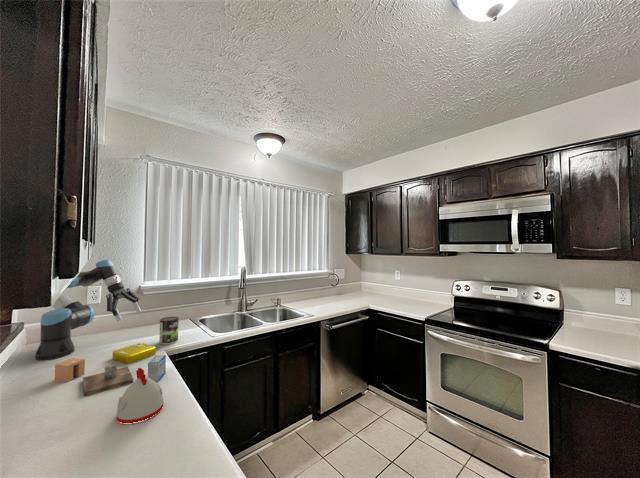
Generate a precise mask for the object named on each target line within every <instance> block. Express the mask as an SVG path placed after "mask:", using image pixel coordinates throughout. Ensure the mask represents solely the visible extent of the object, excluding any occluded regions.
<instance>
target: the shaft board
mask: <svg viewBox="0 0 640 478" xmlns="http://www.w3.org/2000/svg"><path fill="white" fill-rule="evenodd" d="M133 382H134V378H133V375H132V373H131V371H130V368H129V366H125V367H124V366H123V367H120V368H118V366H117V363H115V364H111V365H106V366H104V371H103V372H99V373H96V374H92V375H88V376H84V377H82V387H83V388H82V389H83V397H87V396H90V395H93V394H97V393H101V392H104V391H107V390H111V389H115V388H118V387H121V386H125V385H129V384H132V383H133Z"/></svg>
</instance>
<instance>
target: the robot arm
mask: <svg viewBox="0 0 640 478" xmlns="http://www.w3.org/2000/svg"><path fill="white" fill-rule="evenodd" d="M101 280H103V283H104V285H105V286H106V287H107V290H108V292H109V293H108V294H106V296H105V297H106V311H107V312H110V313H112V315H113V316H114V317H115V319H116V321H117V322H120V321H122V320H123V317H122V315H121V314H120V311H119V309H118V308H117V305H118V302H119V300H120V299H125V300H128V301H130V302H131V303H132V305H133V308H134V309H135V311H136V313H137V314H138V313H140V312H142V309H141V307H140V303H139V300H140V297H139V296H137V294H135V293H134V292H133V291H132V290H131V289H130V287H127V288H126V289H125V286H124V284H123V282H122V281H121V277H120V276H119V274H118V272H117V270H116V268H115V265H114V264H113V262H112V260H111V259H108V258H107V259H103V260H100V261H99V260H98V262H96V263H95V268H93V269H91V270H89V271H80V274H79V275H78V276H77V277H76V278H75V279H74V280H73V281H72V282H71V284H70V285H69V286H68V287H67V288H66V289H71V288H75V287H80V286H81V287H84V288H85V287H86V288H87V287H88V286H92V285H93V284H96V283H97V282H100V281H101ZM51 307H52V308H53V310H49V311H47V312H45V313H43V314H42V315H41V319H40V322H39V323H40V341H39V342H40V343H39V345H38V348H37V349H36V352H35V354H34V355H35V356H34V358H35V360H37V361H46V360H54V359H58V358H62V357H66V356H68V355H70V354H73V353H74V352H75V345H74V342H73V340H72V337H71V334H72V333H71V331H72V330H75V329H78V328H81V327H85V326H86V325H88V324H90V323H91V322H92V321H93V320H94V318H95V313H96V312H95V309H94V307H92V306H91V305H89V304H83V303H81V302H80V300H73V299H72V298H71V297H70V296H69V295H67V294H66V293H65V292H64V293H63V294H62V295H61V296H60V297H59V298H58V299H57V300H56V301H55V303H54V305H53V306H51Z"/></svg>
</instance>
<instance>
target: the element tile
mask: <svg viewBox="0 0 640 478" xmlns="http://www.w3.org/2000/svg"><path fill="white" fill-rule="evenodd" d="M156 351H157V348H156V346H155V345H151V344H147V343H144V342H138V343H134V344H132V345H129V346H124V347H123V348H118V349H115V350H113V351H112V361H114V362H119V363H121V364H123V365H130V364H134V363H136V362H138V361H142V360H144V359H147V358H150V357H152V356H156Z"/></svg>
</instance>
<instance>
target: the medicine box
mask: <svg viewBox="0 0 640 478" xmlns="http://www.w3.org/2000/svg"><path fill="white" fill-rule="evenodd" d="M166 356H167V355H166V354H158V355H154V357H153V358H152V359H150V360H149V361H148V362H147V378H150V379H152V380H153V381H155V382H156V383H157V382H159V381H160V380H161V379H162V378H163V377H164V375H165V374H166V372H167V371H166V369H167V368H166V365H167V364H166V363H167V361H166V360H167V358H166Z"/></svg>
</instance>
